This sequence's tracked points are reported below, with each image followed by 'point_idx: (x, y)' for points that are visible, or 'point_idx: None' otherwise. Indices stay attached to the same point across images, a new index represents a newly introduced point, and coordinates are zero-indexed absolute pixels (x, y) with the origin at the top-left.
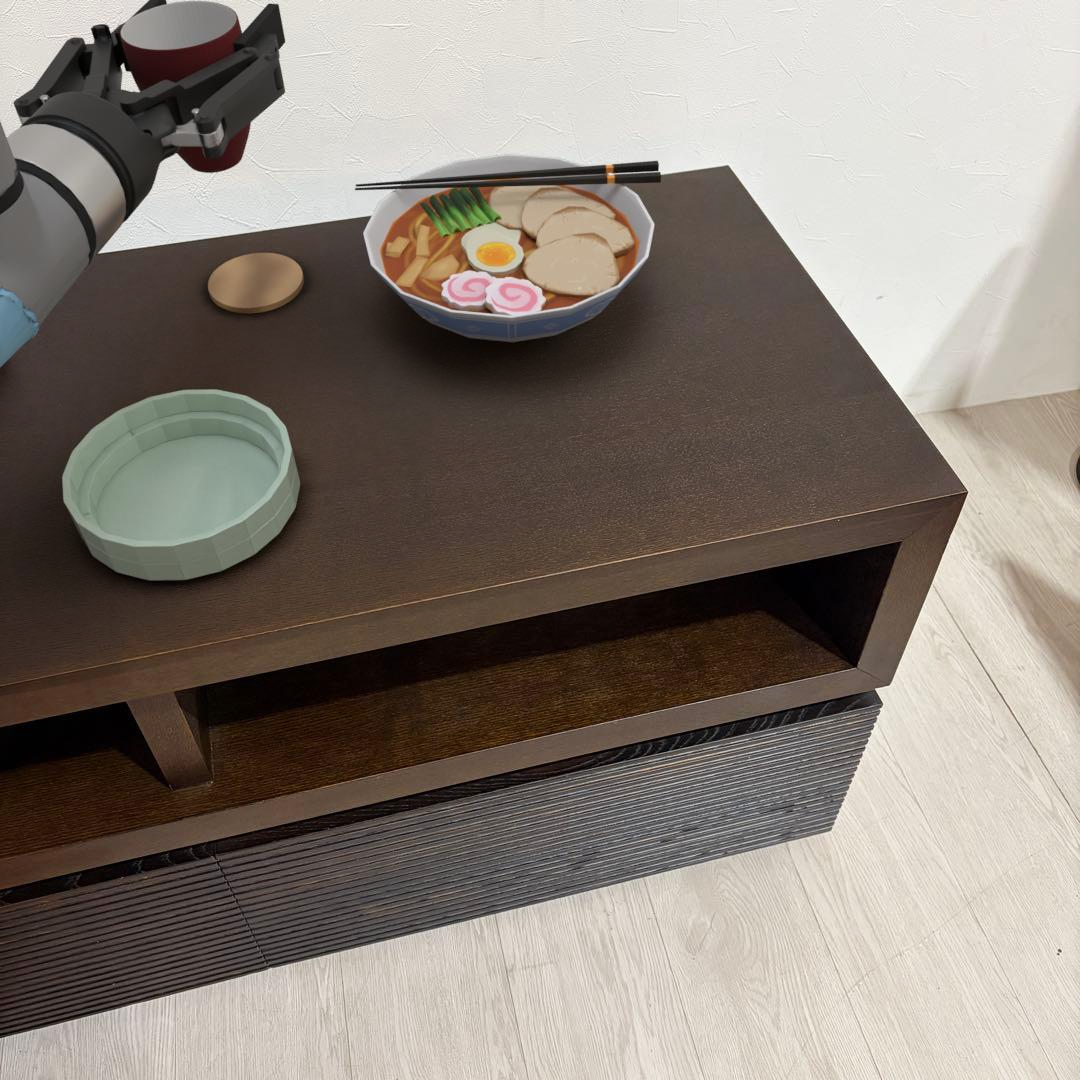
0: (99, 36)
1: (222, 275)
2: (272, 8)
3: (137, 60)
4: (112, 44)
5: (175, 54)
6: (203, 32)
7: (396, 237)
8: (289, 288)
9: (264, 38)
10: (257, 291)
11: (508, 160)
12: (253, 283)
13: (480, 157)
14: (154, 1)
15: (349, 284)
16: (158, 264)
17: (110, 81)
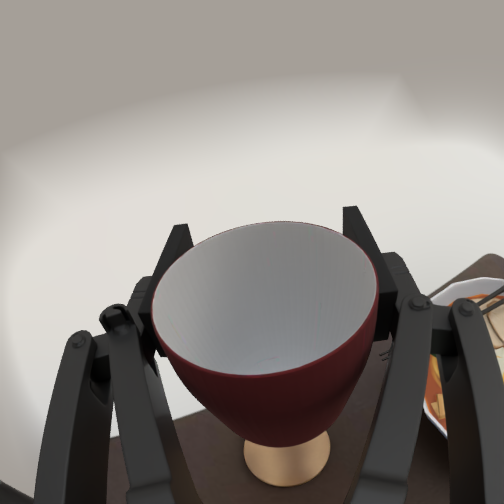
0: (114, 327)
1: (254, 448)
2: (357, 213)
3: (209, 388)
4: (139, 339)
5: (312, 371)
6: (259, 265)
7: (432, 394)
8: (323, 450)
9: (388, 263)
10: (296, 461)
11: (455, 288)
12: (287, 453)
13: (440, 292)
14: (177, 235)
15: (366, 425)
16: (188, 438)
17: (172, 463)
